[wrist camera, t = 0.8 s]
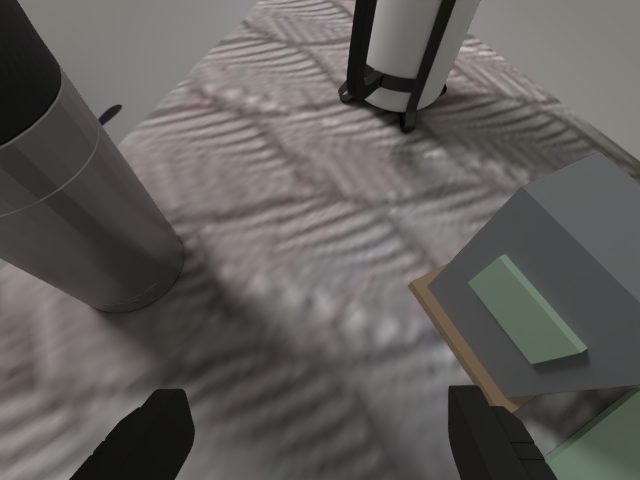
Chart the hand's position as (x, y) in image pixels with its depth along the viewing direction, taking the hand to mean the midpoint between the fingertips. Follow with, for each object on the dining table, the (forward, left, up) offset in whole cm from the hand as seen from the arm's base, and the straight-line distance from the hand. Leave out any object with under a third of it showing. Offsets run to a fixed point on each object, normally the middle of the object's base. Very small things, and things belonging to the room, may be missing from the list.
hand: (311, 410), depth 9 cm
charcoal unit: (+1, +17, -16) cm, 24 cm away
